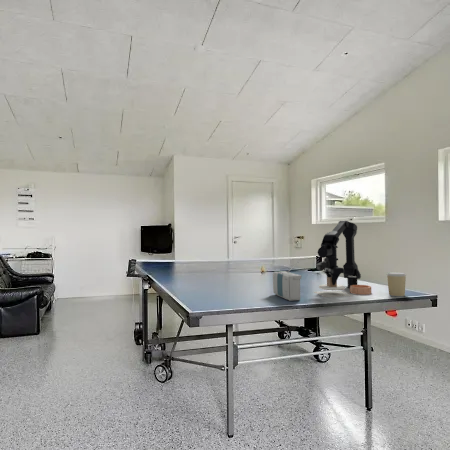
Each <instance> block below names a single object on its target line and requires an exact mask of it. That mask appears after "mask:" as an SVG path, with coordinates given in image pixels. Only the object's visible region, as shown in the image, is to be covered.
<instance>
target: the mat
mask: <svg viewBox="0 0 450 450" xmlns="http://www.w3.org/2000/svg"><path fill="white" fill-rule="evenodd" d="M313 293H314V294H317V295H318V296H322V297H323V298H335V297H353V295H352V294H349V293H347V292H343V291H342V290H324V291H323V290H322V291H313Z"/></svg>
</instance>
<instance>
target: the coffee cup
mask: <svg viewBox="0 0 450 450" xmlns="http://www.w3.org/2000/svg"><path fill="white" fill-rule="evenodd" d="M406 276H407V274H406V273H405V272H398V271H396V272H395V271H394V272H393V271H391V272H387V274H386V278H387V286H388V287H387V288H388V295H389V296H390V295H391V297H399V298H400V297H405V296H406V295H405V294H406V282H407V281H406V278H407V277H406Z"/></svg>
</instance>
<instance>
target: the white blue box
mask: <svg viewBox="0 0 450 450" xmlns="http://www.w3.org/2000/svg"><path fill="white" fill-rule="evenodd" d="M297 264H299V261H297V263H295V264H294V265H293V266H291V268H290V269H288V270H287V271H285V270H282V271H273V273H272V290H273V294H275V296H278V297H280V298H283V299H285V300H286V301H289V302H291V301H292V302H293V301H300V300H301V280H302V275H301V274H297V273H292V272H290V271H291V270H292V269H293V268H295V266H296V265H297Z"/></svg>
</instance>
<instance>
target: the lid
mask: <svg viewBox="0 0 450 450" xmlns="http://www.w3.org/2000/svg"><path fill="white" fill-rule="evenodd" d="M337 281H338V280H337ZM337 281H336V283H335V285H332V278H331V277H327V276H326V284H319V285H318V288H319V289H320V290H324V291H342V290H343V291H344V290H345V289H346V286H345V285H342V284H338V283H337Z"/></svg>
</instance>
